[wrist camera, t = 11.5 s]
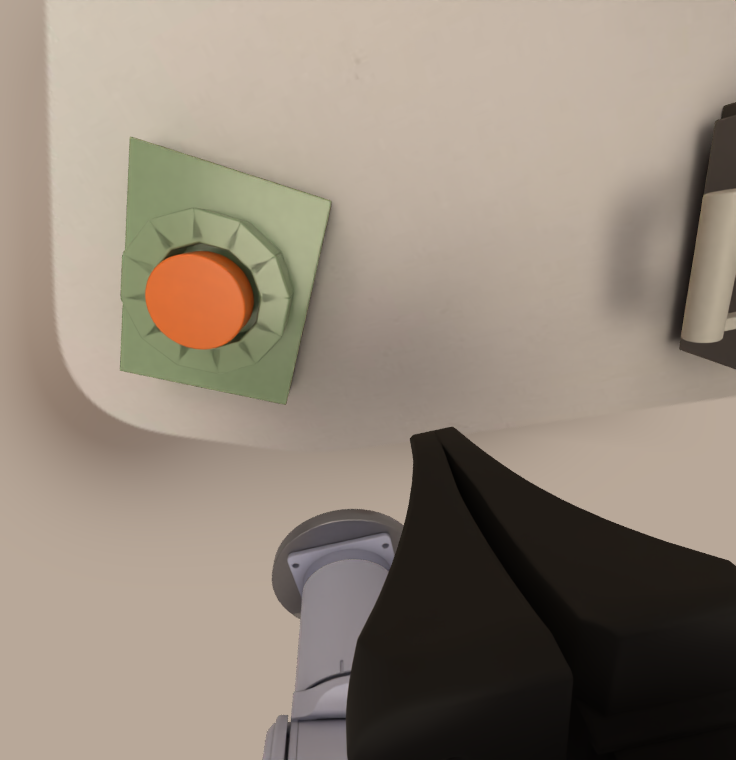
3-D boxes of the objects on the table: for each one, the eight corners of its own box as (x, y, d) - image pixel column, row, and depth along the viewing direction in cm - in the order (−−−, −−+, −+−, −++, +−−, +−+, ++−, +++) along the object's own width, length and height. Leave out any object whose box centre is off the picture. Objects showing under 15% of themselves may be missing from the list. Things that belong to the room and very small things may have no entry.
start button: (246, 346, 16) (237, 359, 15) (160, 326, 16) (141, 337, 14) (260, 265, 15) (252, 269, 13) (168, 239, 14) (147, 240, 13)
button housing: (290, 388, 21) (281, 422, 17) (141, 356, 20) (97, 385, 16) (331, 203, 18) (331, 197, 14) (154, 147, 16) (102, 123, 12)
